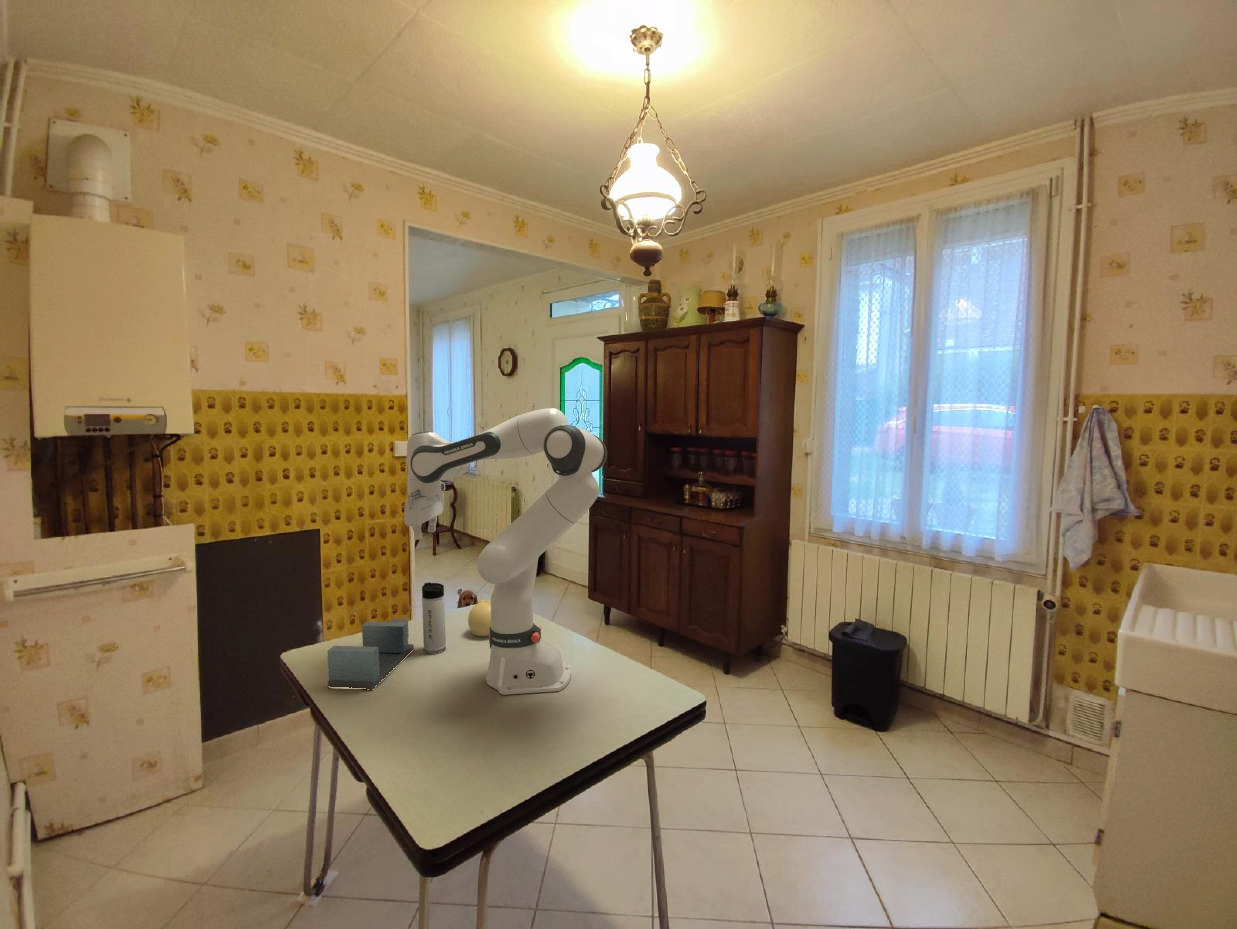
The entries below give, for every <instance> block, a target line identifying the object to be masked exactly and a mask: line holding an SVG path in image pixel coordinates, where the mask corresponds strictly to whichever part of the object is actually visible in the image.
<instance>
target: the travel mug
mask: <svg viewBox="0 0 1237 929" xmlns="http://www.w3.org/2000/svg"><path fill="white" fill-rule="evenodd" d="M421 594H422V595H421V596H422V597H421V602H422V606H421V608H422V629H423V631H422V633H423V634H422V635H423V639H422V640H423V652H424V651H425V652H426V653H425V652H424V653H425V654H427V653H429V654H428V655H434V654H433V653H438V654H440V653H439V652H441V651H443V652H445V650H446V649H447V643H446V641H447V640H446V639H447V638H446V637H447V636H446V608H445V607H446V606H445V587H444V585H443V584H442V583H438V582H430V581H429V582H425V583H424V584H423V585H422V586H421ZM441 653H442V652H441Z"/></svg>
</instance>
